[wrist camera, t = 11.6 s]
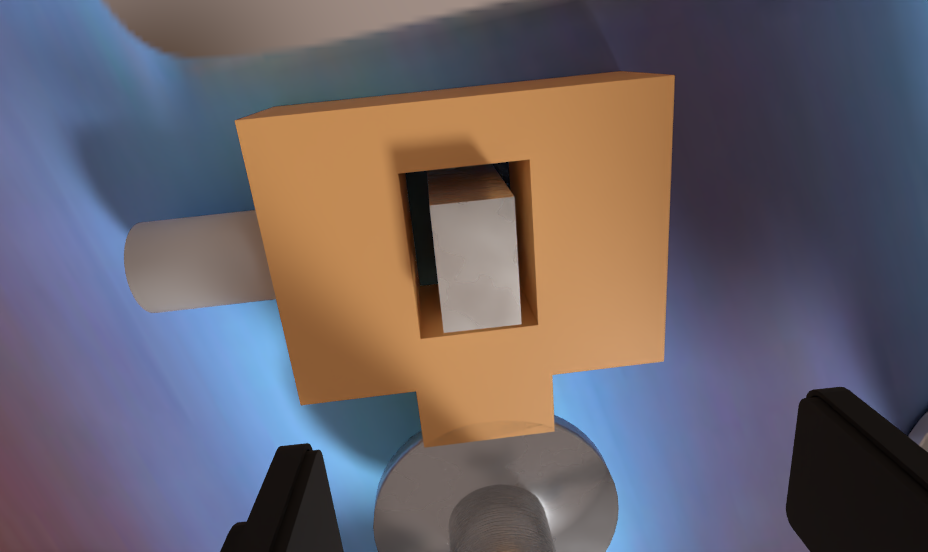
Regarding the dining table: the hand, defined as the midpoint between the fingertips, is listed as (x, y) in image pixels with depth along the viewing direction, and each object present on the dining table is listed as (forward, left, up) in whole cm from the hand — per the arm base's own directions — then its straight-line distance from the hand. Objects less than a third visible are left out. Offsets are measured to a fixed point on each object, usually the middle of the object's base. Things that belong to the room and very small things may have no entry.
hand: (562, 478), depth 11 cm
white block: (+1, -1, -19) cm, 19 cm away
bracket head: (+4, +1, -19) cm, 19 cm away
